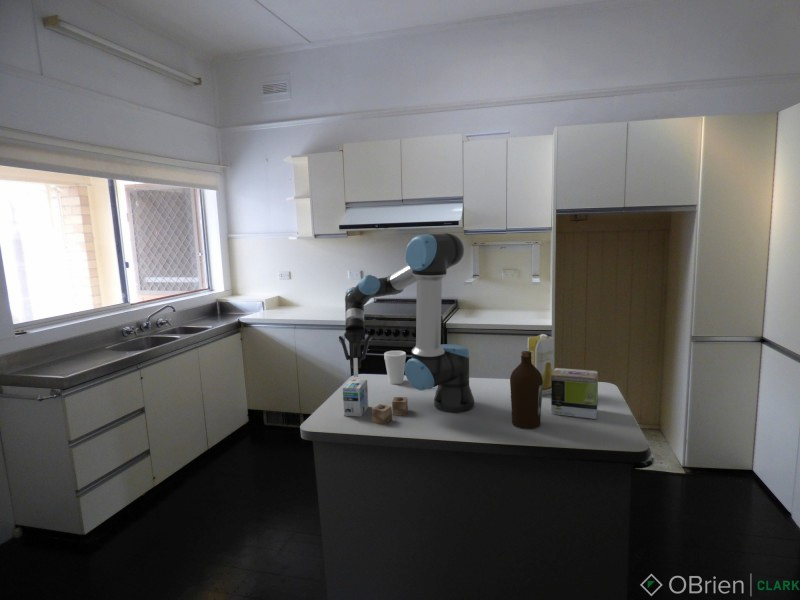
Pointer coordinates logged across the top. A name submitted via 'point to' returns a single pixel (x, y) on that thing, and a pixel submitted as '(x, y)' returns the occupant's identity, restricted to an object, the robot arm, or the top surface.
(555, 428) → the top surface
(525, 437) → the top surface
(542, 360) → the juice carton
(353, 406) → the light bulb box
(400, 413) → the walnut cube
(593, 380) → the tea box
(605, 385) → the top surface
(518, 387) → the olive oil
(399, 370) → the foam cup
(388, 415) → the walnut cube
